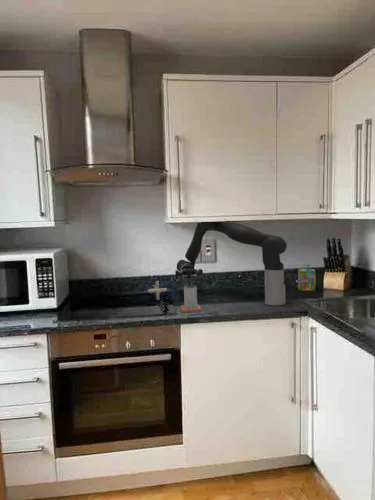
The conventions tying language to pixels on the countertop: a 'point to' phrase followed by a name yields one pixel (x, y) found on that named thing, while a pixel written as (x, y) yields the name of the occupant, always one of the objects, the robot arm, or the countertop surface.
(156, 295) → the pipe connector
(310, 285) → the chalk box
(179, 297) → the countertop surface
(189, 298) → the grey cylinder
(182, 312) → the shaft block
